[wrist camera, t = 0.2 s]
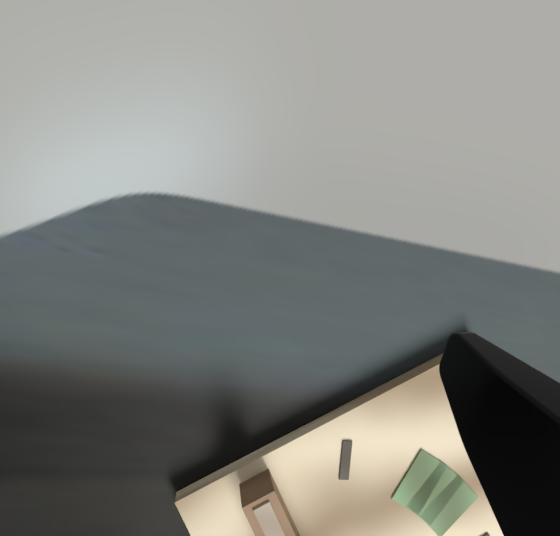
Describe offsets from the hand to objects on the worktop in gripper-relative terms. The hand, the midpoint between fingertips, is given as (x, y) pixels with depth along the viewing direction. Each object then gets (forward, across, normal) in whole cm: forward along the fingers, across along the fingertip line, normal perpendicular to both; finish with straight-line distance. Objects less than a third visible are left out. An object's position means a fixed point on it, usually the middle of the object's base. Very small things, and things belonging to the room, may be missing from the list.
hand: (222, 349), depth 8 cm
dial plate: (+7, -9, +17) cm, 21 cm away
